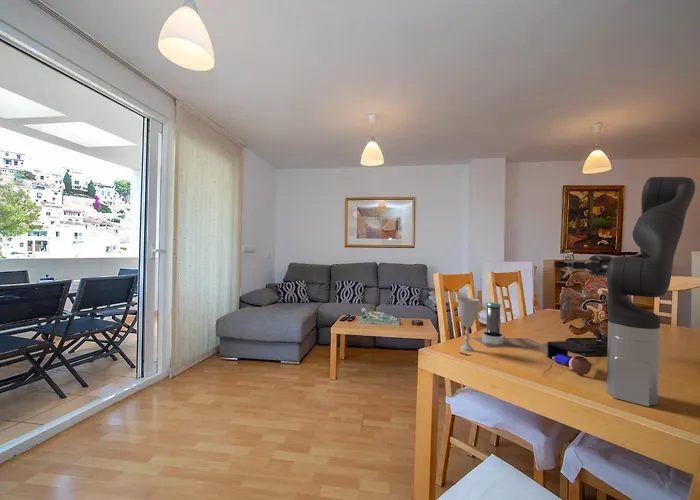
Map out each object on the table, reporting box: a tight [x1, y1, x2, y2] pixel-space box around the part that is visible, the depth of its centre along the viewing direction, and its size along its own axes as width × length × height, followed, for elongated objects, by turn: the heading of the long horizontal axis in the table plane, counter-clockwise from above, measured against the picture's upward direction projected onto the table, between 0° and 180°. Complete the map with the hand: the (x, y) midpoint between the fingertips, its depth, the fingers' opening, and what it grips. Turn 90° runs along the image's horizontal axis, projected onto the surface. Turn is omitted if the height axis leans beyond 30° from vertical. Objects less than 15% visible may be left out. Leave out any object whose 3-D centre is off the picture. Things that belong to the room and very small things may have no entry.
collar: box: [480, 330, 506, 346], centre depth 114 cm, size 8×8×3 cm
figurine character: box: [540, 340, 596, 376], centre depth 94 cm, size 7×8×15 cm
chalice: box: [456, 297, 480, 357], centre depth 105 cm, size 7×7×18 cm
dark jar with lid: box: [485, 302, 502, 336], centre depth 114 cm, size 5×5×14 cm
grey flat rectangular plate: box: [472, 337, 542, 349], centre depth 115 cm, size 22×12×1 cm, turn 93°
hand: (563, 265), depth 111 cm, fingers open, 8 cm apart
